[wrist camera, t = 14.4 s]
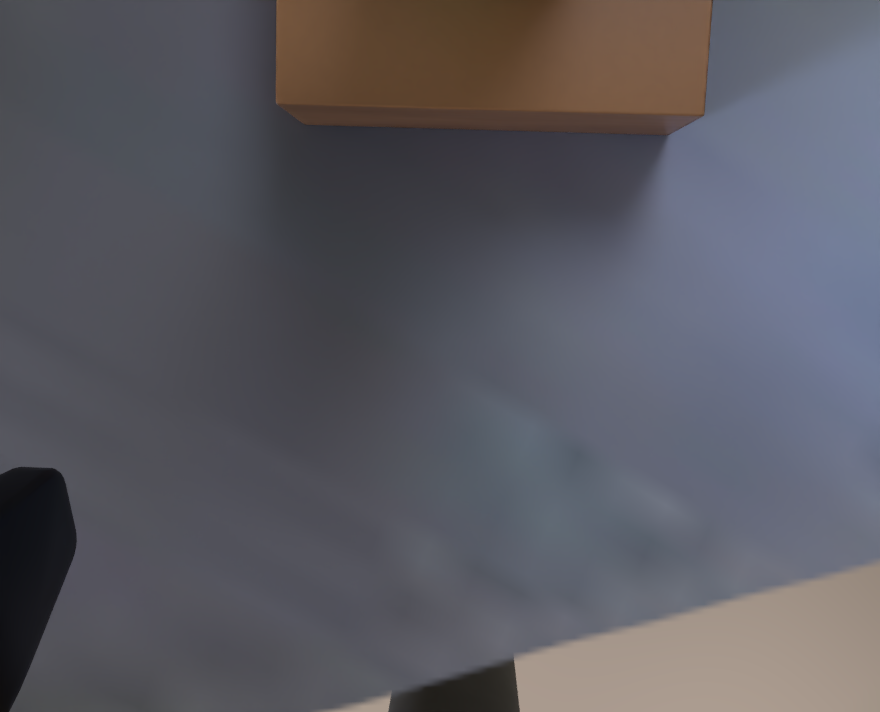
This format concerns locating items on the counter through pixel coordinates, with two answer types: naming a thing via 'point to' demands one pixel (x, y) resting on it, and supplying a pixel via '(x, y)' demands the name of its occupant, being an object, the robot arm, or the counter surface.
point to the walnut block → (495, 64)
